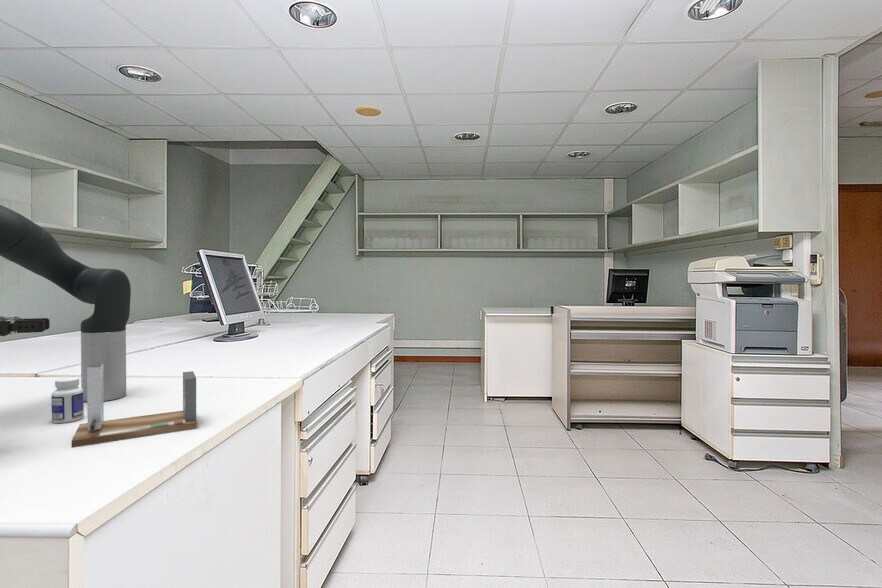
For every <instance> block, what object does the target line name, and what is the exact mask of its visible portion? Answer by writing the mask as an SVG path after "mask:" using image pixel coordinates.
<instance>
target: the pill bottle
mask: <svg viewBox="0 0 882 588" xmlns="http://www.w3.org/2000/svg"><path fill="white" fill-rule="evenodd" d="M79 385H80V377H75V376H74V377H73V376H72V377H71V376H70V377H64V378H63V377H62V378H58V379H55V381H54V386H55V388H56V389H55V390H53V391H52V392H51V398H50V399H51V420H52V423H55V424H65V423H72V422H73V423H74V422H76V421H79V420H82V419H83V418H84V416H85V413H84V412H85V410H84V406H85V405H84V401H83V389H82V388H81V386H79Z"/></svg>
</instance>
